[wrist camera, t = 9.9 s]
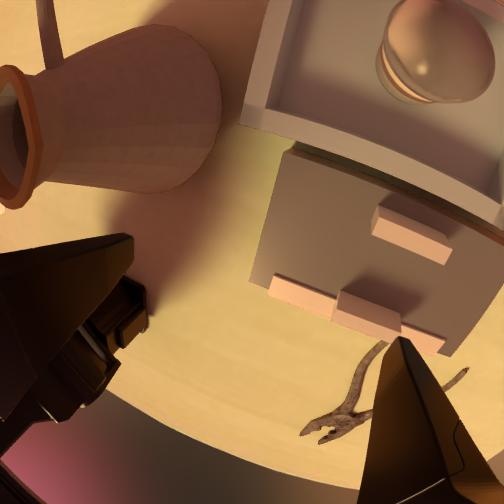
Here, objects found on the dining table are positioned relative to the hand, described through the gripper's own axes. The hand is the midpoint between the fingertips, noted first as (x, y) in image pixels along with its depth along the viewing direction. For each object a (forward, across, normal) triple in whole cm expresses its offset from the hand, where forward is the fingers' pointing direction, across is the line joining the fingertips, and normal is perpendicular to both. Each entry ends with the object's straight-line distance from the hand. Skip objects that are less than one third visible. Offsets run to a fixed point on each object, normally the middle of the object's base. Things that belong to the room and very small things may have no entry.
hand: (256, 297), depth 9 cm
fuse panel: (+11, -6, +2) cm, 13 cm away
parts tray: (+11, -4, -10) cm, 15 cm away
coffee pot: (+12, +11, -8) cm, 18 cm away
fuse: (+10, -4, -10) cm, 15 cm away
